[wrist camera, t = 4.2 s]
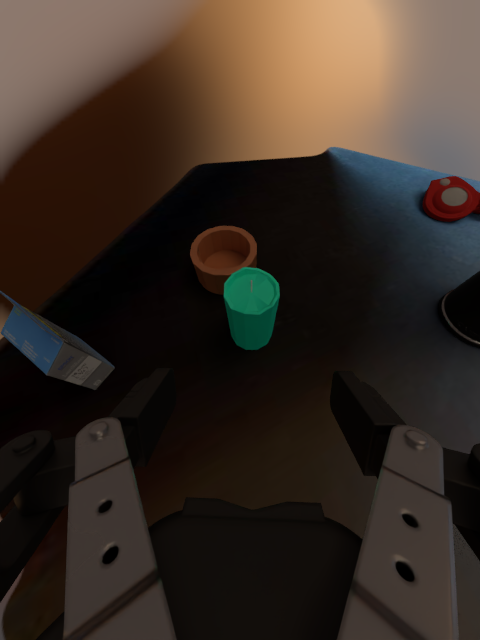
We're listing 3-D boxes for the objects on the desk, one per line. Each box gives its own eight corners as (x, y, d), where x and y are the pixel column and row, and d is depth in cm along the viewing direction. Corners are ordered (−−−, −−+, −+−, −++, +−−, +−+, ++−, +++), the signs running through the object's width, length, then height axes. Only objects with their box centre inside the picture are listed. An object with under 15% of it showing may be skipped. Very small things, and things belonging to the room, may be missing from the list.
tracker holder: (435, 221, 40) (420, 175, 42) (422, 235, 44) (409, 193, 47) (521, 204, 37) (499, 156, 39) (498, 221, 41) (480, 176, 44)
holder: (228, 240, 42) (225, 217, 37) (268, 270, 38) (270, 248, 34) (185, 270, 39) (177, 249, 34) (224, 306, 35) (220, 287, 31)
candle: (226, 318, 34) (215, 264, 23) (264, 309, 34) (270, 252, 24) (236, 355, 31) (228, 313, 21) (277, 344, 32) (291, 297, 21)
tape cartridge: (55, 356, 32) (-45, 315, 21) (77, 335, 34) (-6, 286, 23) (95, 391, 30) (5, 364, 19) (117, 367, 31) (45, 329, 20)
